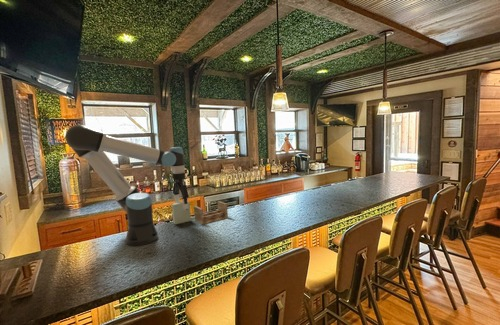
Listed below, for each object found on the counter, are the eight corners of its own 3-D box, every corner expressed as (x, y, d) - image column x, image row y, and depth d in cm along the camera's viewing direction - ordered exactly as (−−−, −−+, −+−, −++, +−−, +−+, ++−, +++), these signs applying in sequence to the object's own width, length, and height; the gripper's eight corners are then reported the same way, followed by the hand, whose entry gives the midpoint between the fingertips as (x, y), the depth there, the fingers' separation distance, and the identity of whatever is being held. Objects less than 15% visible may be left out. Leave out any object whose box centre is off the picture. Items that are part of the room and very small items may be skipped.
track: (201, 224, 147) (200, 209, 146) (194, 220, 155) (193, 206, 155) (227, 217, 158) (227, 203, 157) (220, 214, 166) (219, 201, 165)
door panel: (175, 224, 149) (173, 205, 148) (173, 223, 152) (171, 204, 151) (191, 220, 155) (189, 202, 154) (188, 219, 158) (187, 201, 157)
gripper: (192, 173, 143) (195, 209, 145) (177, 170, 163) (180, 202, 165) (179, 175, 139) (183, 212, 141) (165, 171, 159) (168, 204, 161)
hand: (181, 206), depth 153 cm, fingers open, 13 cm apart
